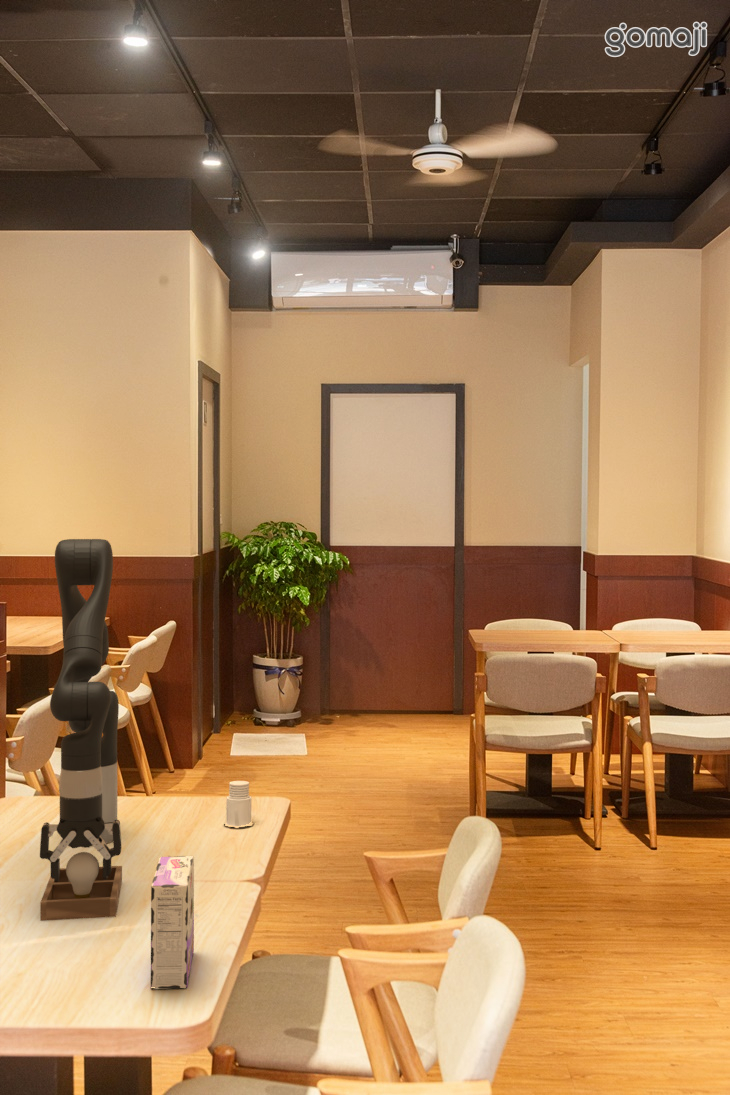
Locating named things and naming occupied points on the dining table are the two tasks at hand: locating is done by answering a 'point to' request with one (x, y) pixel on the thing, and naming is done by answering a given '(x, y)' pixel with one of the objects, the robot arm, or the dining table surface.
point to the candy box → (172, 922)
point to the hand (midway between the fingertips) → (81, 879)
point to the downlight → (238, 804)
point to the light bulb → (82, 873)
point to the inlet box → (100, 904)
